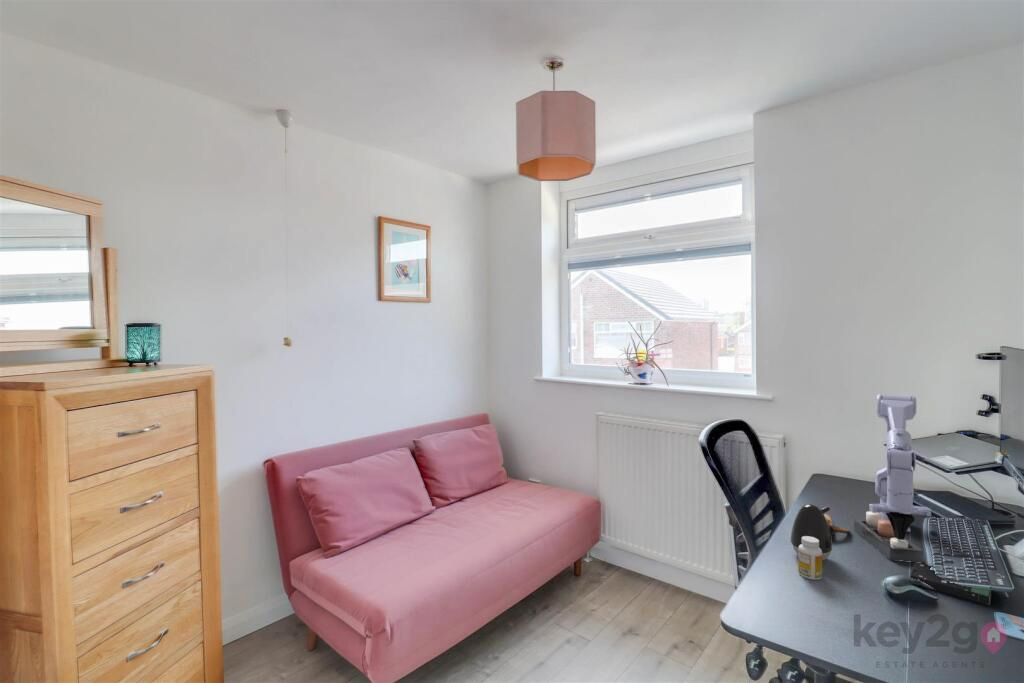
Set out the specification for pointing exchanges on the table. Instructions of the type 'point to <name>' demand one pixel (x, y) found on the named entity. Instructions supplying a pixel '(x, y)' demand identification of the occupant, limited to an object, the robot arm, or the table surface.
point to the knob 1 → (873, 519)
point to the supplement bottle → (810, 558)
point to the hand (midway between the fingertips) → (899, 538)
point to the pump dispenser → (812, 528)
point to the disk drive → (948, 584)
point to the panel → (888, 544)
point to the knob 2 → (898, 543)
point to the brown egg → (885, 529)
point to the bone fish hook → (833, 528)
